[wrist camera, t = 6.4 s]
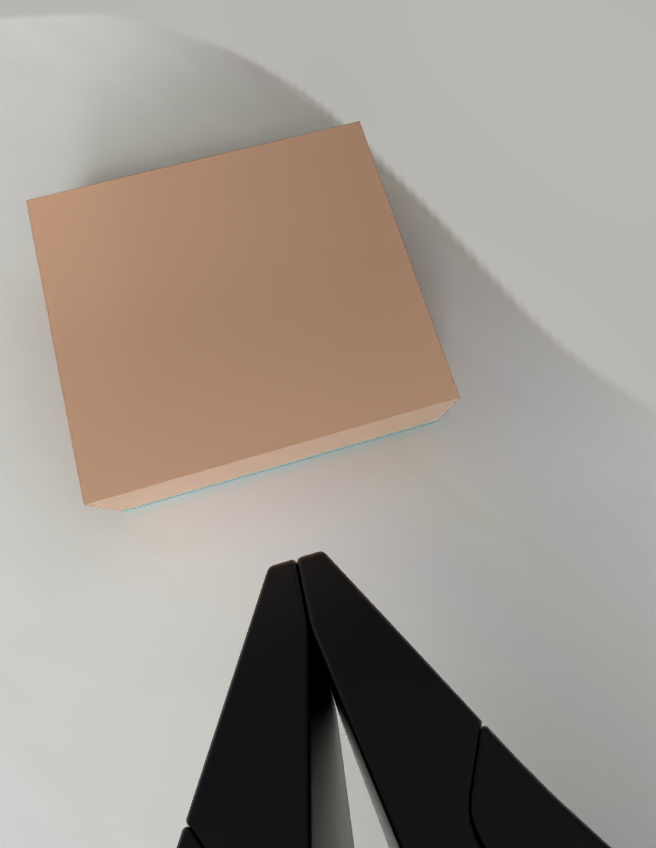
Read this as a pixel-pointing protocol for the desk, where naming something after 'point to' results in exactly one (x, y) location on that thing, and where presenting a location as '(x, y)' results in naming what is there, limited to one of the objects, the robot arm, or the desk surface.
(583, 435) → the desk surface
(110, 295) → the tile
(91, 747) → the desk surface
